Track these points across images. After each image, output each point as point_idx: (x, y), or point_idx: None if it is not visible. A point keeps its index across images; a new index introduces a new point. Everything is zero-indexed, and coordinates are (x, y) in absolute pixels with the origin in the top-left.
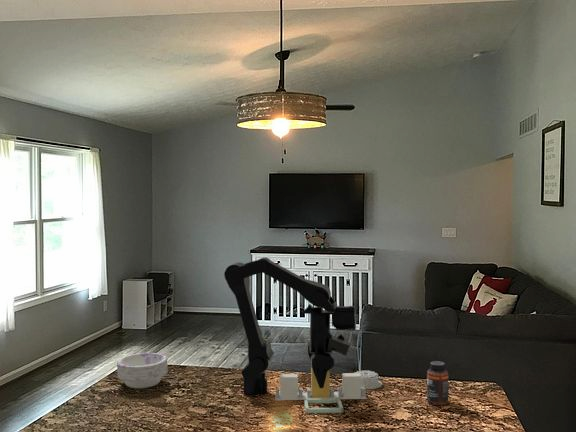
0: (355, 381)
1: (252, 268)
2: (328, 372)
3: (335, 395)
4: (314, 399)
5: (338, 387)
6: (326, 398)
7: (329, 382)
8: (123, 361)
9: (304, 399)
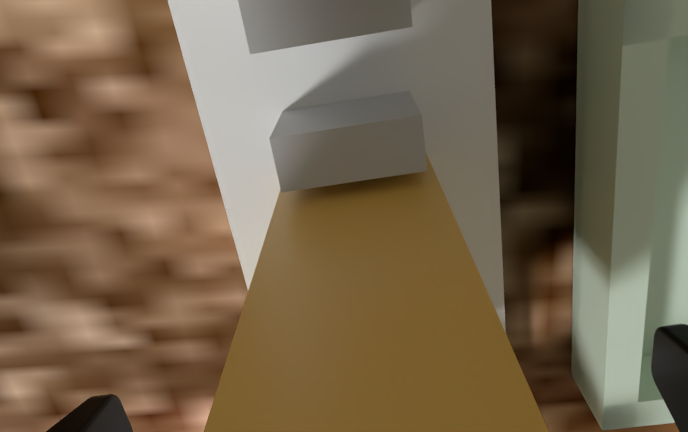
0: None
1: None
2: (530, 426)
3: (337, 71)
4: (641, 333)
5: (265, 38)
6: (618, 197)
7: (466, 246)
8: None
9: (629, 425)
